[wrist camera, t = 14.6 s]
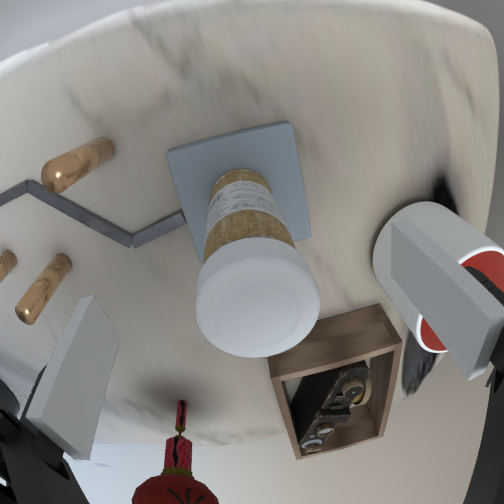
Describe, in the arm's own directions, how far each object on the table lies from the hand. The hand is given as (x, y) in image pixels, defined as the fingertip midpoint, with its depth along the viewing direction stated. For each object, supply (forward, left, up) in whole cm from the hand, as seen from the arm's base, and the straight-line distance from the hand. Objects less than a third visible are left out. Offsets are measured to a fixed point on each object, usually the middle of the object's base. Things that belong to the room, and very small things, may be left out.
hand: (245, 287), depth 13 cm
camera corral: (+5, -25, -13) cm, 29 cm away
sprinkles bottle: (0, 0, -11) cm, 11 cm away
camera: (+5, -24, -14) cm, 28 cm away
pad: (0, 0, -13) cm, 13 cm away
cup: (+15, -9, -14) cm, 22 cm away
